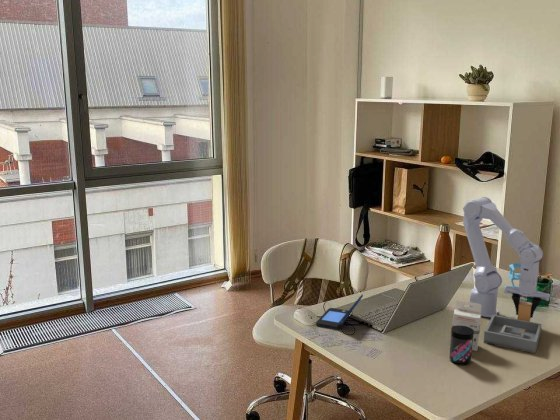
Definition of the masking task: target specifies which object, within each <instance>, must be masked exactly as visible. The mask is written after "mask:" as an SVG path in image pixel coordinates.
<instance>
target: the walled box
mask: <svg viewBox="0 0 560 420" xmlns="http://www.w3.org/2000/svg"><path fill="white" fill-rule="evenodd" d="M504 325H506V326H512V327H517V328H522V329H525V336H524V338H519V337H515V336H510V335H505V334H501V330H502V328H503V326H504ZM541 332H542V323H538V322H533V321H530V322H528V321H523V320H518V319H517V318H513V317H507V316H501V315H498V314H497V315H492V317H491V318H490V320H489V322H488V323H487V326H486V328H485V330H484V332H483V343H485V344H489V345H490V344H491V345H493V346H494V345H495V346H499V347H503V348H508V349H513V350H518V351H523V352H527V353H530V354H536V351H537V347H538V344H539V341H540V337H541ZM505 333H510V332H505ZM510 334H515V333H510ZM515 335H519V334H515ZM520 336H521V335H520Z"/></svg>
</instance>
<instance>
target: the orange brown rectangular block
mask: <svg viewBox="0 0 560 420" xmlns="http://www.w3.org/2000/svg"><path fill="white" fill-rule="evenodd" d="M531 309H532V302H527V301H523V300H520V303H519V309H518V315H517V317H516V319H518V320H523V321H528V322H531V319H532V318H531V317H530V314H531Z"/></svg>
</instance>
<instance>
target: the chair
mask: <svg viewBox="0 0 560 420" xmlns="http://www.w3.org/2000/svg"><path fill="white" fill-rule="evenodd" d="M508 266H509V272H508V273H507V275H508V277H509V280H510V283H511V285H505V286H504V288H505V287H515V288H519V286H515V282H514V281H519V280H520V272H519V273H516V272H515V268H520V269H521V262H514V263H511V264H509V265H508Z"/></svg>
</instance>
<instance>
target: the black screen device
mask: <svg viewBox="0 0 560 420" xmlns="http://www.w3.org/2000/svg"><path fill="white" fill-rule="evenodd" d="M363 296H364V294H361V295H360V296H359V297H358V299H357V300H356V301H355V302H354V304H352V306H351V307H350V308H349V310H347V309H342V308H335V307H334V308H333V307H329V308H327V309H326V311H325V312H324V313H323V315H321V316H320V318H319V319H318V320H317V321H316V322H315V325H316V326H317V327H322V328H327V329H332V330H337V331H340V330H341V329H342V327H343V326H344V325H345V322H347V321H348V320H349V318H350V317H349V315H350V313H351V312H352V313H353V310H354V309H355V308H356V306H357V305H358V304H359V302H360V301H361V299H362V298H363Z"/></svg>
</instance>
